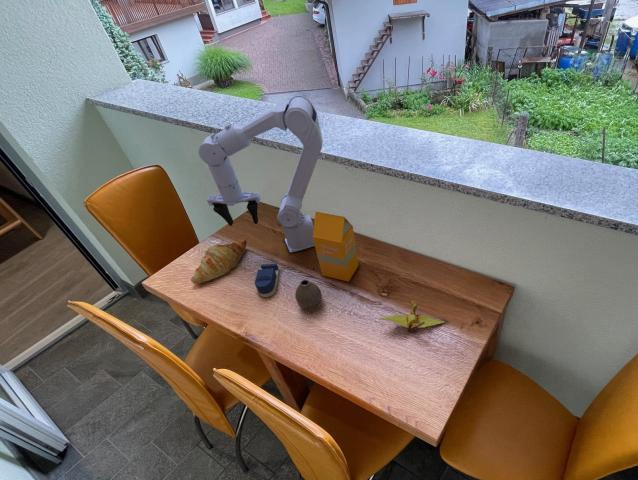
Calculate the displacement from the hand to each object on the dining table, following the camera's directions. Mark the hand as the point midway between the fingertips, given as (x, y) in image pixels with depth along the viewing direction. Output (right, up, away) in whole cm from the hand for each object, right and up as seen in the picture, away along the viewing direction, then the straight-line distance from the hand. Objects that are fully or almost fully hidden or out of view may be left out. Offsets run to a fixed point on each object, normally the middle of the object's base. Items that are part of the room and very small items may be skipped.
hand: (244, 223), depth 107 cm
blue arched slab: (+10, -19, -5) cm, 22 cm away
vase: (+24, -26, -11) cm, 37 cm away
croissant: (-7, -13, +1) cm, 15 cm away
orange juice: (+30, -15, -1) cm, 34 cm away
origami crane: (+52, -31, -17) cm, 63 cm away
